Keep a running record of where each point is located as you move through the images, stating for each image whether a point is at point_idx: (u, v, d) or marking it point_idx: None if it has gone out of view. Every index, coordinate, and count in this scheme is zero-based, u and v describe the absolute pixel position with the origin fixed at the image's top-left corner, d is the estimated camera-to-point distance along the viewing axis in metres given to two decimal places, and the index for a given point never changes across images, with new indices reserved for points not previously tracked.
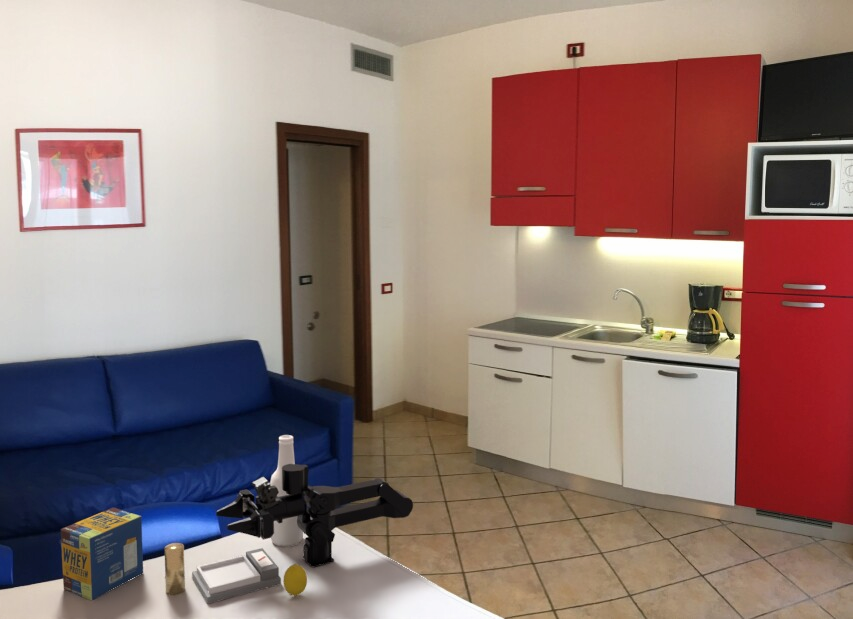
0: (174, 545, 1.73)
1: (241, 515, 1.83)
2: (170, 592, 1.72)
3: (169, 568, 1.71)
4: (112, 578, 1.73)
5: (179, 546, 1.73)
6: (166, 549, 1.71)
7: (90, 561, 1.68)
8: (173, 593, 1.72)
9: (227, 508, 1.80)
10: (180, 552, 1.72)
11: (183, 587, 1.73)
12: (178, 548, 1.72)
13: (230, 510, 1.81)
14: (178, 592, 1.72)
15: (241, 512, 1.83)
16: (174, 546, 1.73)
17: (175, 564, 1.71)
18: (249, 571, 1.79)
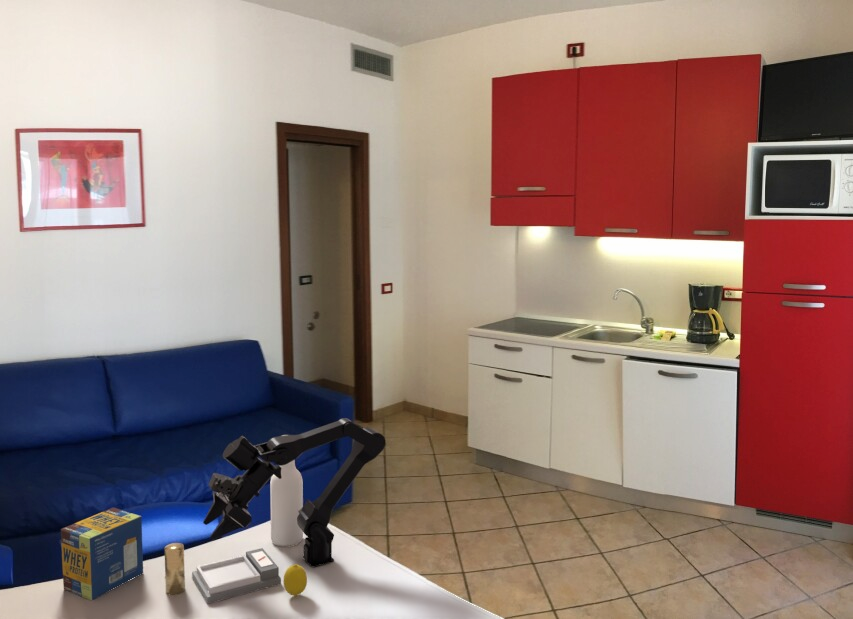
0: (174, 545, 1.73)
1: None
2: (170, 592, 1.72)
3: (169, 568, 1.71)
4: (112, 579, 1.73)
5: (179, 546, 1.73)
6: (166, 549, 1.71)
7: (90, 561, 1.68)
8: (173, 593, 1.72)
9: (210, 513, 1.80)
10: (180, 552, 1.72)
11: (183, 587, 1.73)
12: (178, 548, 1.72)
13: (214, 512, 1.81)
14: (178, 592, 1.72)
15: (226, 505, 1.82)
16: (174, 546, 1.73)
17: (175, 564, 1.71)
18: (249, 571, 1.79)
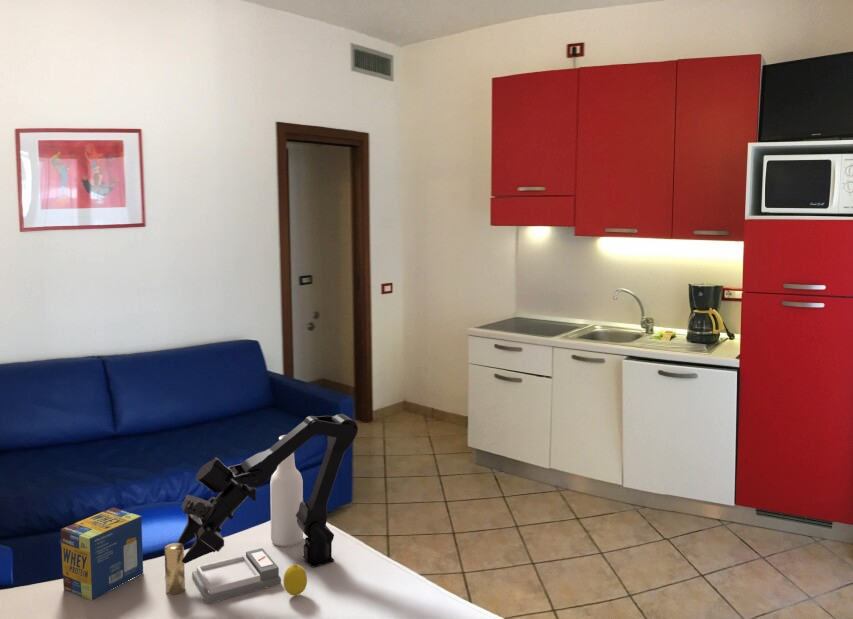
0: (174, 545, 1.73)
1: None
2: (170, 592, 1.72)
3: (169, 568, 1.71)
4: (112, 578, 1.73)
5: (179, 546, 1.73)
6: (166, 549, 1.71)
7: (90, 561, 1.68)
8: (173, 593, 1.72)
9: (183, 535, 1.78)
10: (180, 552, 1.72)
11: (183, 587, 1.73)
12: (178, 548, 1.72)
13: (188, 534, 1.78)
14: (178, 592, 1.72)
15: (200, 527, 1.80)
16: (174, 546, 1.73)
17: (175, 564, 1.71)
18: (249, 571, 1.79)
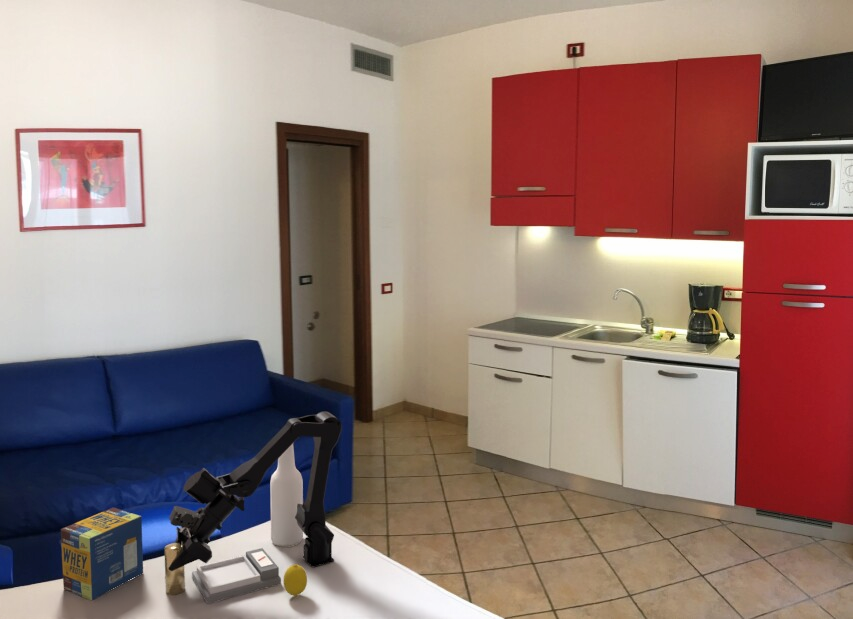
0: (174, 545, 1.73)
1: None
2: (170, 592, 1.72)
3: None
4: (112, 579, 1.73)
5: (178, 546, 1.73)
6: (166, 549, 1.71)
7: (90, 561, 1.68)
8: (173, 593, 1.72)
9: None
10: None
11: (183, 587, 1.73)
12: (178, 548, 1.72)
13: None
14: (178, 592, 1.72)
15: None
16: (174, 546, 1.73)
17: None
18: (249, 571, 1.79)
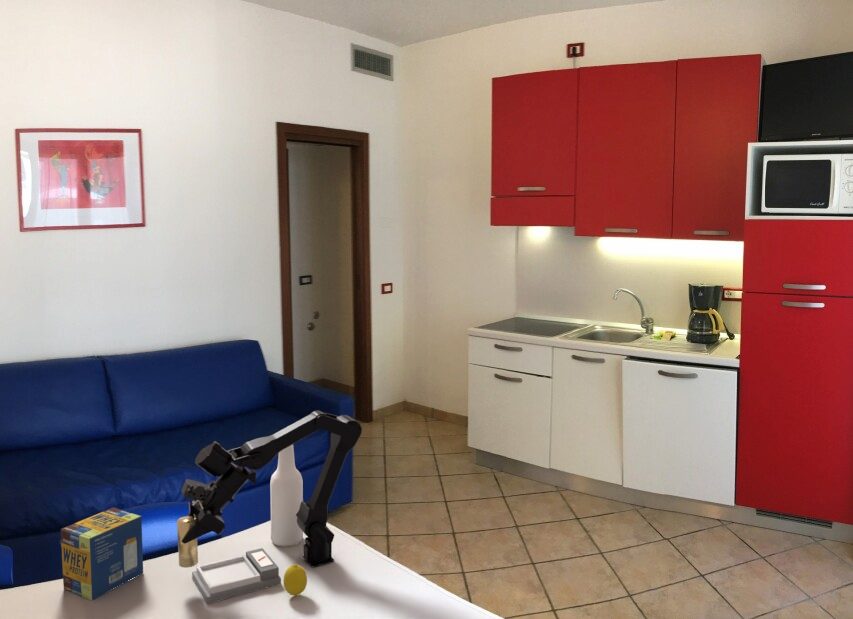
0: (186, 518, 1.74)
1: None
2: (183, 565, 1.72)
3: None
4: (112, 579, 1.73)
5: (191, 519, 1.73)
6: (179, 522, 1.71)
7: (90, 561, 1.68)
8: (186, 566, 1.72)
9: None
10: None
11: (196, 559, 1.74)
12: (190, 521, 1.72)
13: None
14: (191, 565, 1.72)
15: None
16: (187, 519, 1.73)
17: None
18: (249, 571, 1.79)
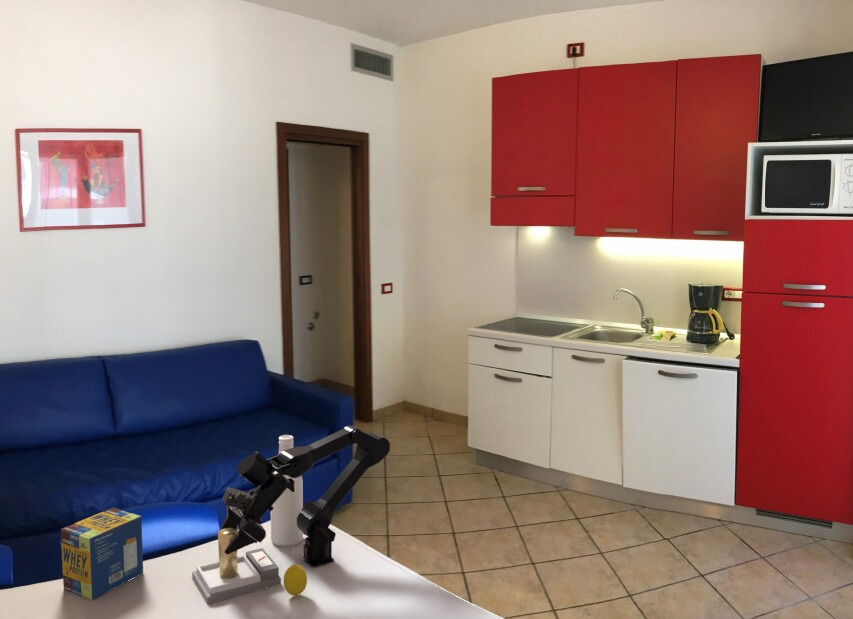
0: (227, 530, 1.77)
1: None
2: (224, 576, 1.75)
3: (223, 552, 1.75)
4: (112, 579, 1.73)
5: (231, 531, 1.77)
6: (220, 534, 1.75)
7: (90, 561, 1.68)
8: (227, 577, 1.75)
9: (224, 527, 1.80)
10: (233, 537, 1.75)
11: (236, 571, 1.77)
12: (231, 533, 1.75)
13: (228, 526, 1.81)
14: (232, 576, 1.76)
15: (239, 519, 1.82)
16: (227, 531, 1.77)
17: None
18: (249, 571, 1.79)
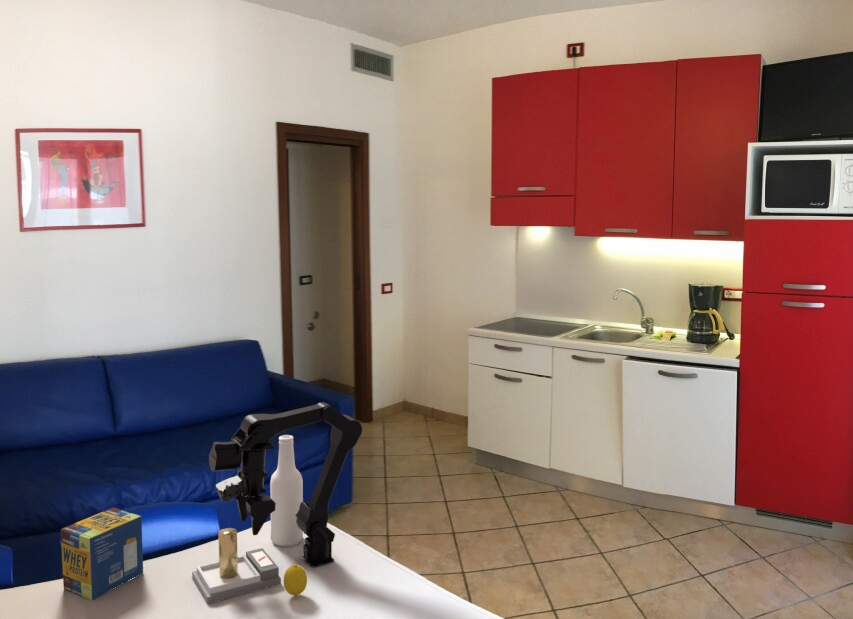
0: (227, 530, 1.77)
1: None
2: (224, 576, 1.75)
3: (223, 552, 1.75)
4: (112, 579, 1.73)
5: (232, 531, 1.77)
6: (220, 534, 1.75)
7: (90, 561, 1.68)
8: (227, 577, 1.75)
9: (241, 510, 1.82)
10: (234, 537, 1.75)
11: (236, 571, 1.77)
12: (231, 533, 1.75)
13: (243, 506, 1.83)
14: (232, 576, 1.76)
15: None
16: (228, 531, 1.77)
17: (229, 549, 1.75)
18: (249, 571, 1.79)
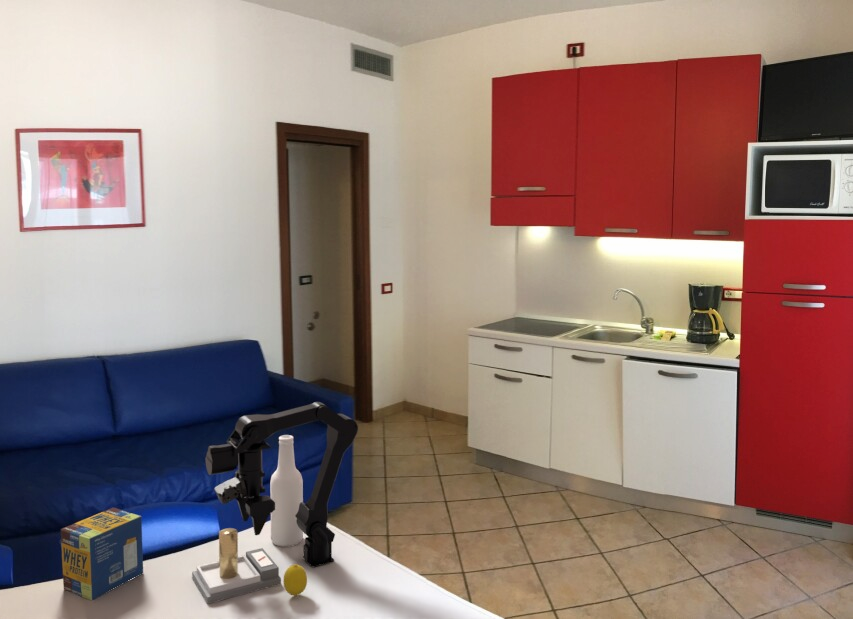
0: (228, 530, 1.77)
1: None
2: (224, 576, 1.75)
3: (223, 552, 1.75)
4: (112, 579, 1.73)
5: (233, 531, 1.77)
6: (221, 534, 1.75)
7: (90, 561, 1.68)
8: (227, 577, 1.75)
9: (242, 510, 1.82)
10: (234, 537, 1.75)
11: (236, 571, 1.77)
12: (232, 533, 1.75)
13: (245, 507, 1.83)
14: (232, 576, 1.76)
15: None
16: (229, 531, 1.77)
17: (229, 549, 1.75)
18: (249, 571, 1.79)
